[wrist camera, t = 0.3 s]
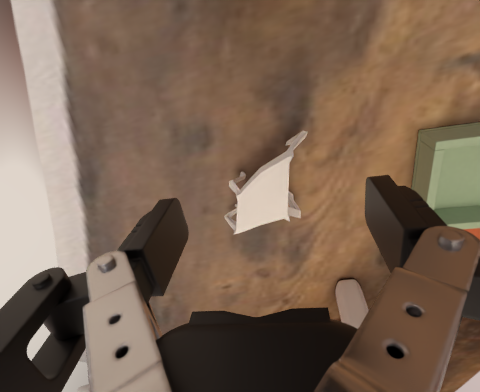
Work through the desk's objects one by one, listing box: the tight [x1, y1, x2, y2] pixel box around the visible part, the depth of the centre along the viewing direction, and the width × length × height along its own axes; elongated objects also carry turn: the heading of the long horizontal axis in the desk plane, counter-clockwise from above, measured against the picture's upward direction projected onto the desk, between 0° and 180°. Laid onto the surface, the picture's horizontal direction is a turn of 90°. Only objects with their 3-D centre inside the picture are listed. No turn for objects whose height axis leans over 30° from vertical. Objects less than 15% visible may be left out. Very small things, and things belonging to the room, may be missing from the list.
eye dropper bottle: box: [335, 279, 369, 329], centre depth 33 cm, size 4×6×12 cm
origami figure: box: [224, 131, 308, 234], centre depth 28 cm, size 12×8×5 cm
